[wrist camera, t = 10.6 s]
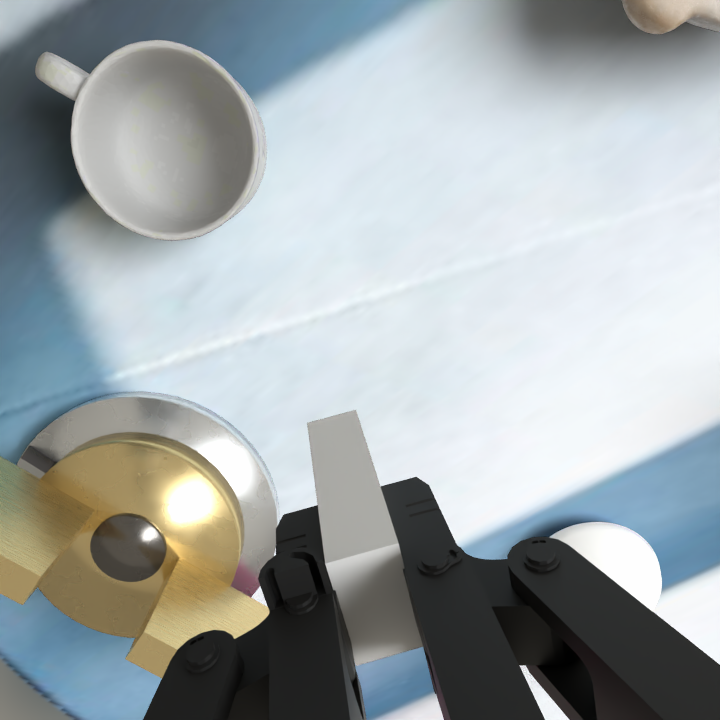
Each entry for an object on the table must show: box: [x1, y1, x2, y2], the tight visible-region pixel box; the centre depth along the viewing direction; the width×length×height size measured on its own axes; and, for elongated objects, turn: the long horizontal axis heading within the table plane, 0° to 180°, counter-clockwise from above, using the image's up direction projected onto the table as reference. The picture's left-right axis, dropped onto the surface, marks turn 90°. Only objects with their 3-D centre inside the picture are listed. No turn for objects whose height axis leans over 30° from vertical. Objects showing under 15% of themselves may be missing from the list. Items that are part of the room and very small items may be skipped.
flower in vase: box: [549, 522, 662, 612], centre depth 39 cm, size 13×11×25 cm
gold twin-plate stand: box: [0, 432, 269, 678], centre depth 42 cm, size 18×17×10 cm
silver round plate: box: [17, 392, 280, 598], centre depth 48 cm, size 21×21×2 cm
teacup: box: [35, 40, 267, 241], centre depth 38 cm, size 14×11×8 cm
